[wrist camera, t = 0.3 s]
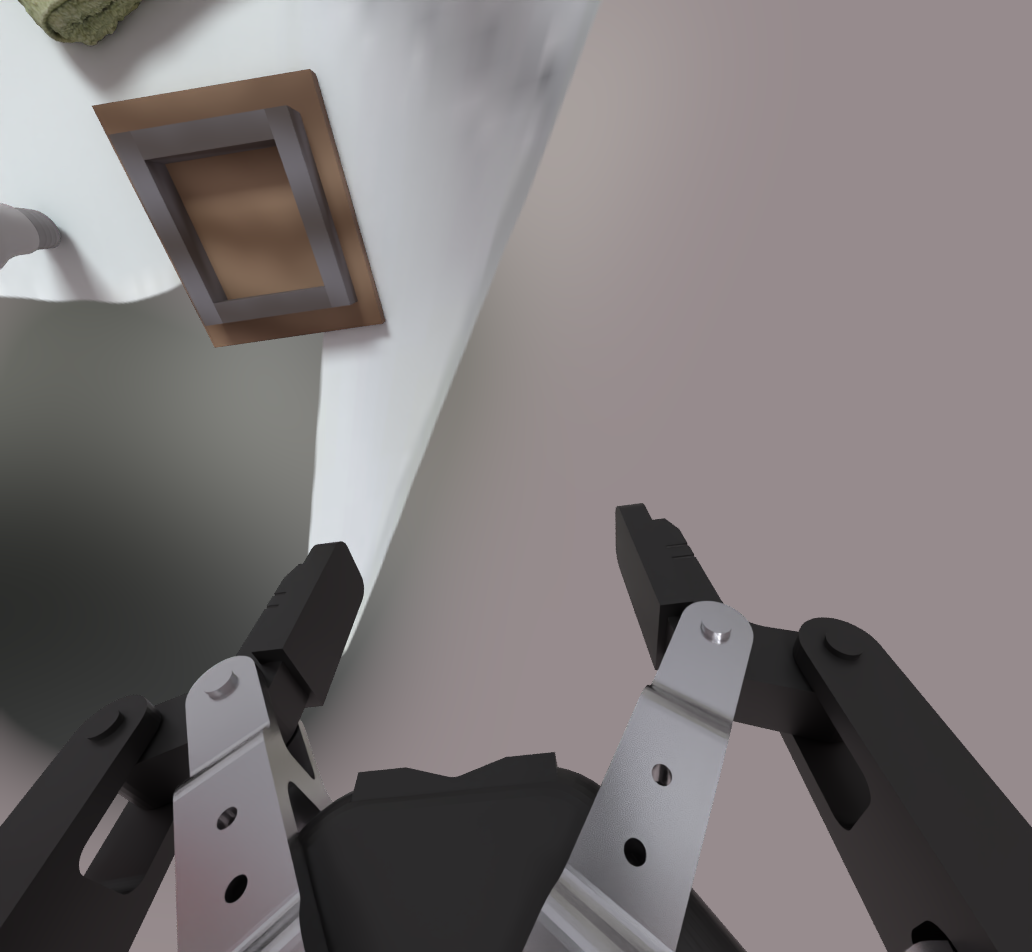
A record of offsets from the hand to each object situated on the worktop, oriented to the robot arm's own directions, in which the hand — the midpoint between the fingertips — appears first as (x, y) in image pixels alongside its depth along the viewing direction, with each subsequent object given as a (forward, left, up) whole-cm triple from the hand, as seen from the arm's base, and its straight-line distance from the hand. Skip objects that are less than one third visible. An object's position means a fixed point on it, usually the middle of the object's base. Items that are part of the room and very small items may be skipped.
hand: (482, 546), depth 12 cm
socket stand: (-10, -17, -29) cm, 35 cm away
